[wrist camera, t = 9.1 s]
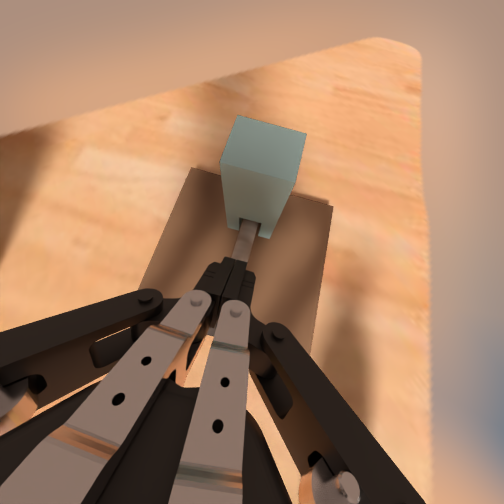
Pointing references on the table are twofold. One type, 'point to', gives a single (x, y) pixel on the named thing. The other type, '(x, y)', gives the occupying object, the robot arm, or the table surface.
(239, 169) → the tall pale blue block
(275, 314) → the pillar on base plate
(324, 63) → the table surface
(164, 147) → the table surface
